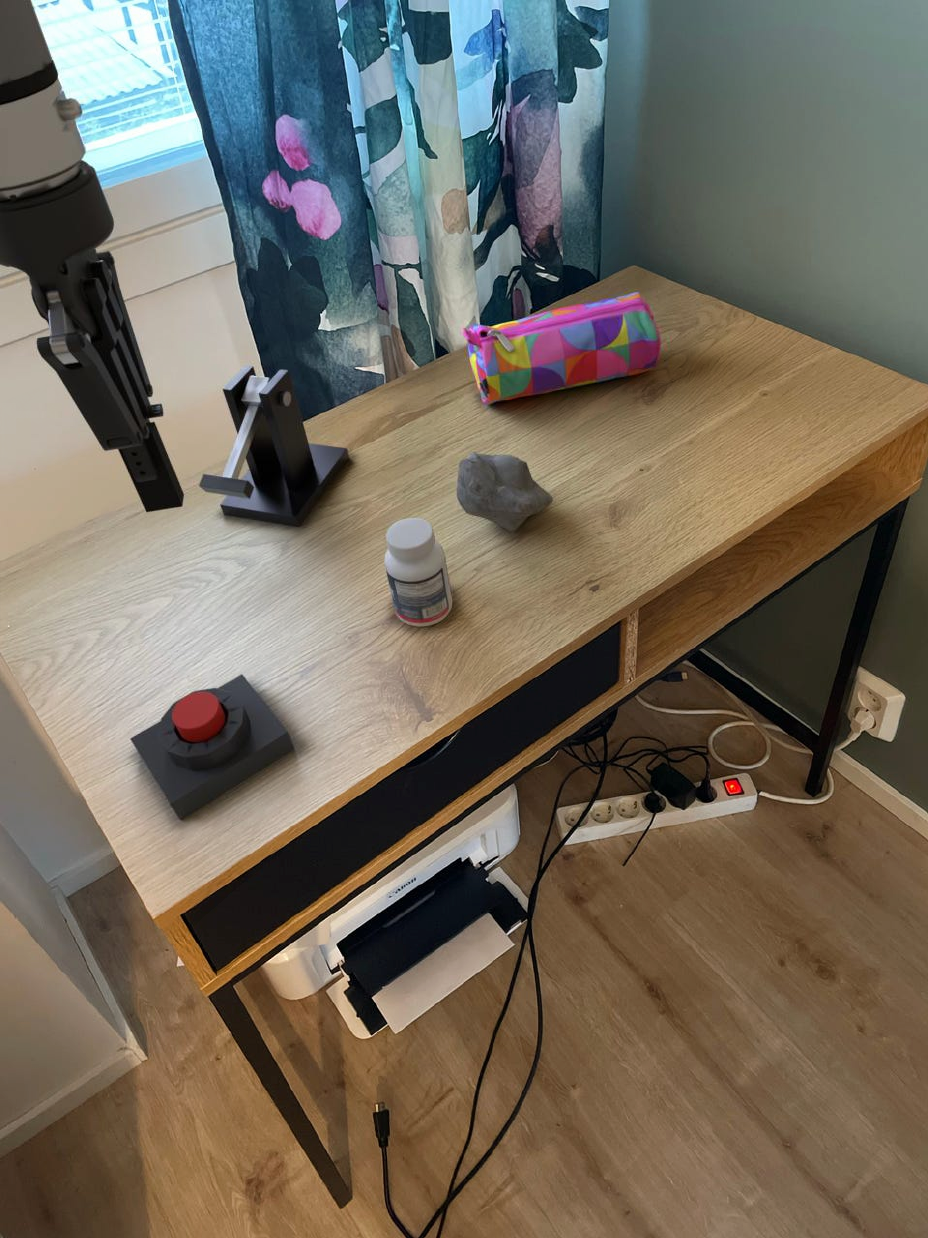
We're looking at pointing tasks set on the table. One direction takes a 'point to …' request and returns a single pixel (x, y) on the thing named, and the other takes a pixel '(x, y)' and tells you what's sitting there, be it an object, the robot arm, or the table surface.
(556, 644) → the table surface
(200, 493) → the table surface
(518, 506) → the fossil
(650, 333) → the pencil case
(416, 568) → the pill bottle
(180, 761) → the button box
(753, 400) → the table surface
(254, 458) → the black lever stand
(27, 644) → the table surface
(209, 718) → the button
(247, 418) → the lever
